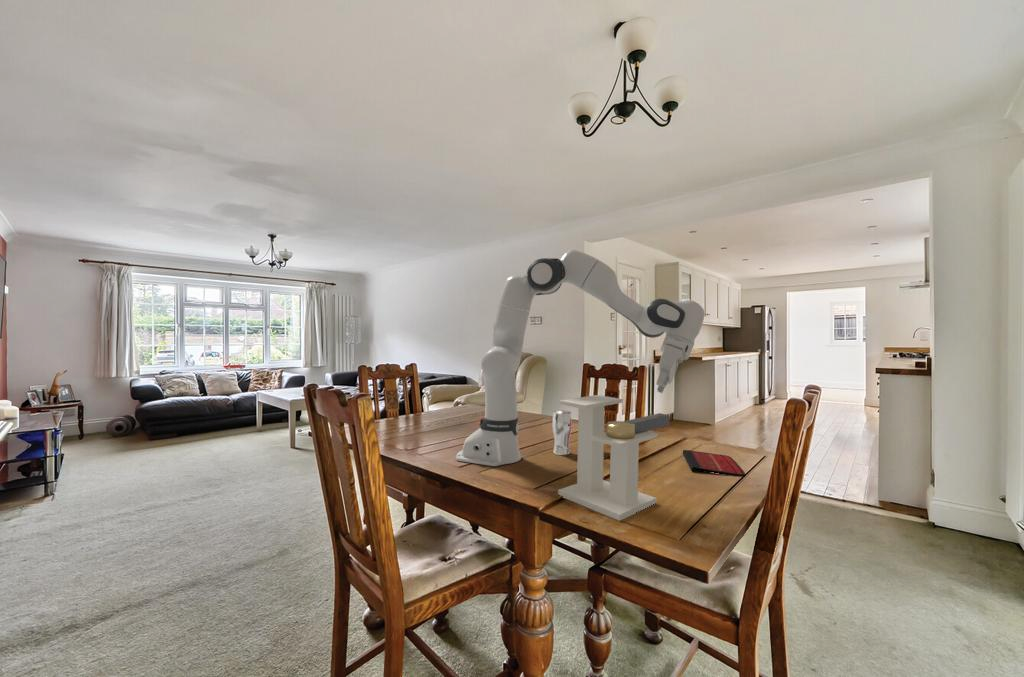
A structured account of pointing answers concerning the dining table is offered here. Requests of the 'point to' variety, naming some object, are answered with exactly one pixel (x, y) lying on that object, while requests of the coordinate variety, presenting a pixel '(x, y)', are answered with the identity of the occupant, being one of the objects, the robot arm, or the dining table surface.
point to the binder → (712, 463)
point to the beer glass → (562, 431)
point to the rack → (591, 488)
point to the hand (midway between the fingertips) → (659, 388)
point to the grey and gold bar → (635, 426)
